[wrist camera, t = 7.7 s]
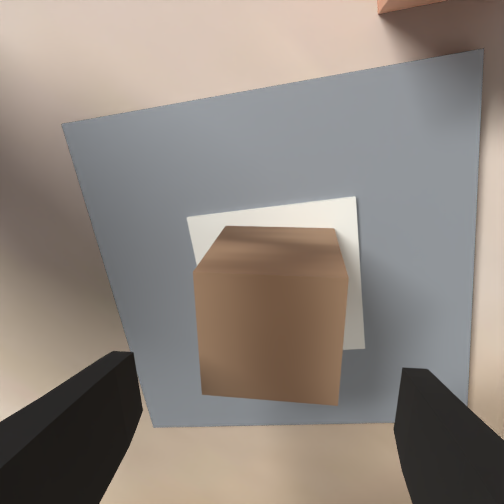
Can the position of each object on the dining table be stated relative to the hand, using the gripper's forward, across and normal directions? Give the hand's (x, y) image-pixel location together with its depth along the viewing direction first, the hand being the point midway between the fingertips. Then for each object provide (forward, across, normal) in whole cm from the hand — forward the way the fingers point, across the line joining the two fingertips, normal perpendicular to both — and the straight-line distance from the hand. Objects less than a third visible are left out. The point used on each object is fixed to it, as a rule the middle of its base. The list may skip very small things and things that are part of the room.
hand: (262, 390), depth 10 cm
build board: (+8, 0, 0) cm, 8 cm away
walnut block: (+7, 0, 0) cm, 7 cm away
